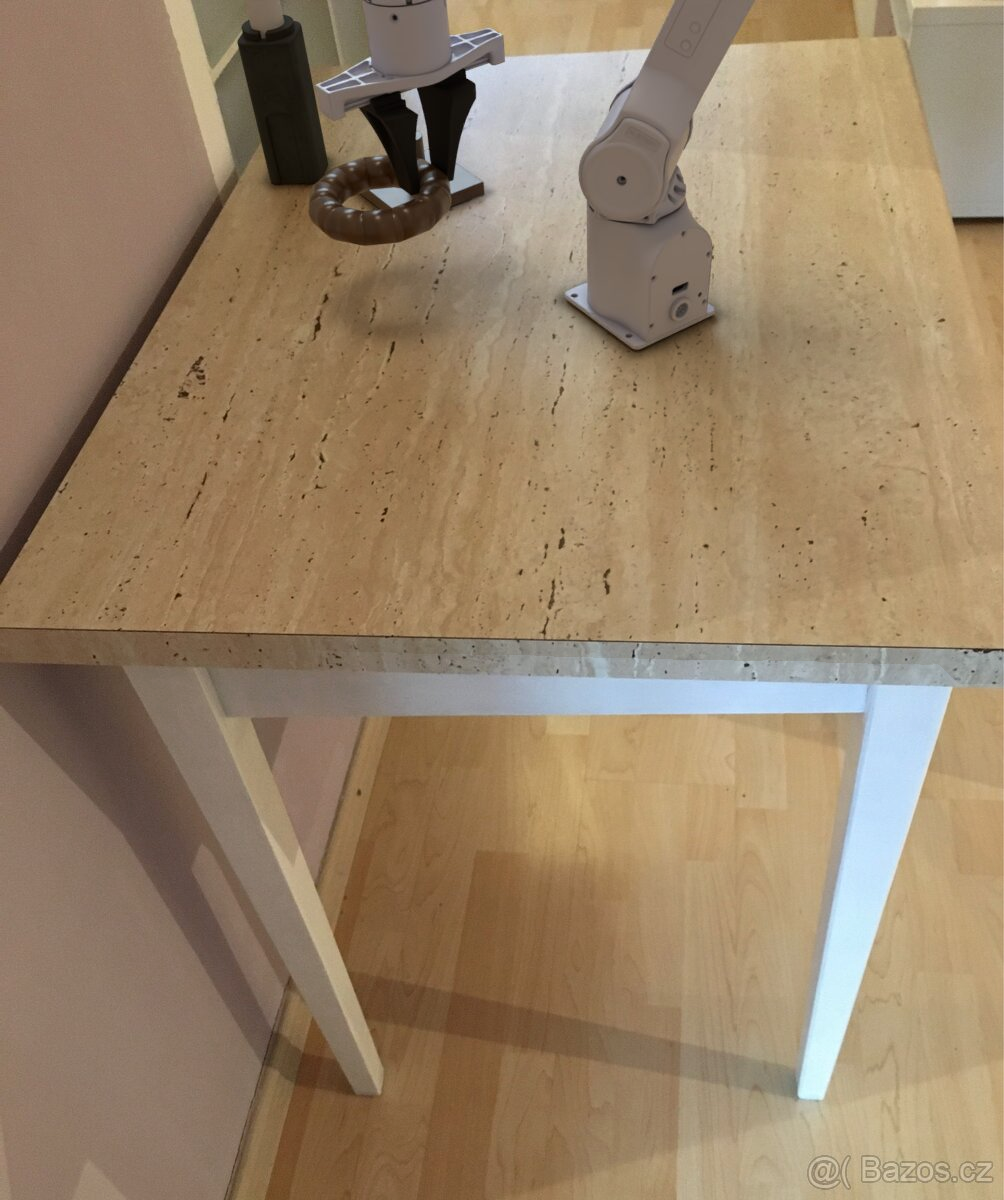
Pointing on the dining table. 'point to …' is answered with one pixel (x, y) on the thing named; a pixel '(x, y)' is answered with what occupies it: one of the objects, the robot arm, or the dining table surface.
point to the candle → (282, 94)
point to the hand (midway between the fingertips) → (426, 183)
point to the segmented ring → (382, 222)
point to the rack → (387, 198)
